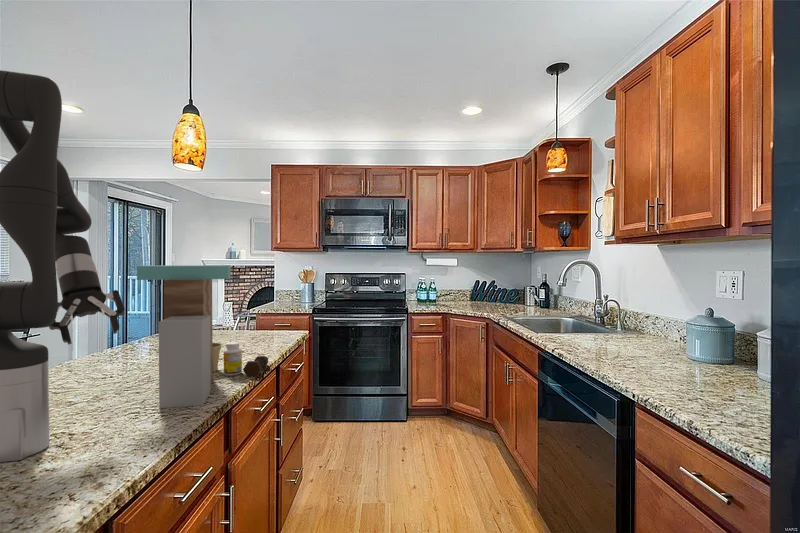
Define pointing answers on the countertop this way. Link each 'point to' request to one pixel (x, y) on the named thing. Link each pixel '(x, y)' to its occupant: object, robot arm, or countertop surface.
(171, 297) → the walnut stand
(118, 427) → the countertop surface
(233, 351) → the supplement bottle
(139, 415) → the countertop surface
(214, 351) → the flower pot
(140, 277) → the teal bar
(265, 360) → the hex dumbbell
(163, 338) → the grey block
